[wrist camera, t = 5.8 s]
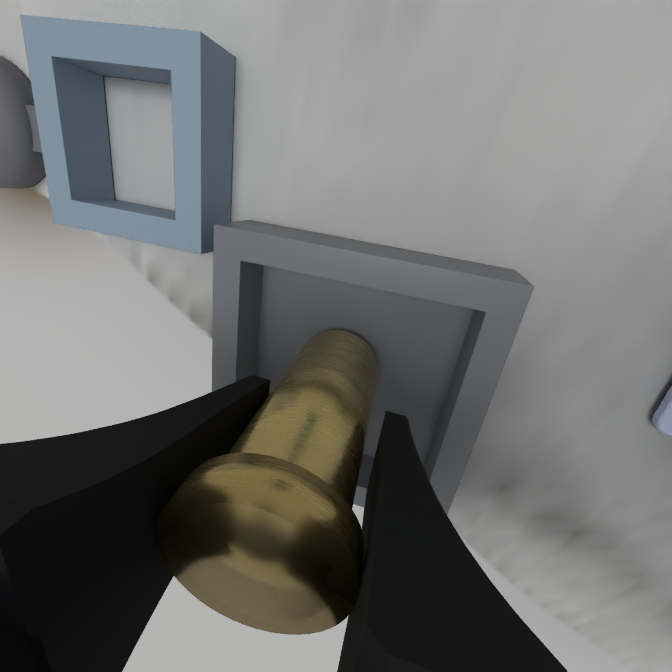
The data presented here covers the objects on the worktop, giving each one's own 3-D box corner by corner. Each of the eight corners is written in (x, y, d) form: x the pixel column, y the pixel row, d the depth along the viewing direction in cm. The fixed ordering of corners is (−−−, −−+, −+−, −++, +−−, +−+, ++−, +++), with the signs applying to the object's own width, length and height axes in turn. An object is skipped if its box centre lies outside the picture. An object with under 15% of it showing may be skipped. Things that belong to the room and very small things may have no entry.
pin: (397, 329, 13) (372, 518, 6) (381, 419, 14) (346, 656, 7) (290, 312, 13) (143, 463, 6) (287, 400, 15) (167, 601, 8)
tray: (515, 270, 12) (534, 286, 10) (439, 484, 16) (440, 531, 14) (249, 220, 14) (213, 224, 12) (239, 425, 18) (211, 459, 16)
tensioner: (235, 56, 12) (189, 23, 10) (229, 246, 14) (192, 256, 12) (-66, 25, 14) (-160, -8, 12) (-25, 195, 17) (-97, 194, 14)
